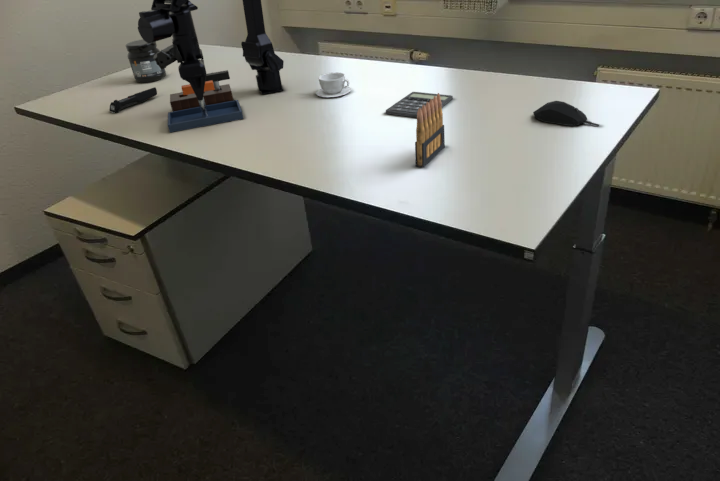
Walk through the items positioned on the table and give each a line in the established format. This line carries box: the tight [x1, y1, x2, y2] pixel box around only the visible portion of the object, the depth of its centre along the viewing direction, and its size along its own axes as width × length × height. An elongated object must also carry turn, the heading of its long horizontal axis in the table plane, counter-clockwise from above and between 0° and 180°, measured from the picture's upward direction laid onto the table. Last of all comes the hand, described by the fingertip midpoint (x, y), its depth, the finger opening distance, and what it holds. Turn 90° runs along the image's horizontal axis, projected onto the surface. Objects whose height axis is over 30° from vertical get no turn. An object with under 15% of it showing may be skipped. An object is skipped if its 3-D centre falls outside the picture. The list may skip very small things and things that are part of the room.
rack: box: [169, 83, 234, 112], centre depth 153 cm, size 17×7×4 cm, turn 106°
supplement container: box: [125, 38, 167, 84], centre depth 183 cm, size 10×10×12 cm
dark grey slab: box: [205, 69, 231, 91], centre depth 153 cm, size 8×2×9 cm, turn 106°
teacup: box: [315, 72, 352, 98], centre depth 154 cm, size 10×10×5 cm
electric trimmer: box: [108, 86, 158, 114], centre depth 163 cm, size 4×16×3 cm, turn 142°
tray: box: [167, 99, 244, 133], centre depth 146 cm, size 19×11×2 cm, turn 106°
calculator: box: [385, 91, 454, 118], centre depth 139 cm, size 12×1×15 cm
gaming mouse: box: [532, 100, 600, 127], centre depth 122 cm, size 6×15×4 cm, turn 49°
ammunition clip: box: [414, 92, 446, 168], centre depth 111 cm, size 11×2×12 cm, turn 149°
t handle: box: [180, 81, 215, 118], centre depth 144 cm, size 8×2×9 cm, turn 106°
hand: (199, 95), depth 143 cm, fingers open, 9 cm apart
